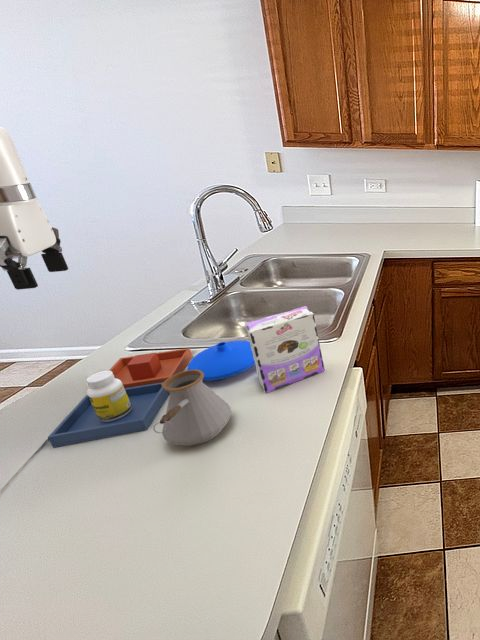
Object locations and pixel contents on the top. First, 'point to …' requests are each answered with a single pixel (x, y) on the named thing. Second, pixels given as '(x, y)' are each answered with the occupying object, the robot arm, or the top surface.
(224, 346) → the blue pot lid
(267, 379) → the candy box
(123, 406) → the supplement bottle
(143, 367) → the rust block
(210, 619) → the top surface
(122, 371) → the rust tray
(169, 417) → the coffee pot
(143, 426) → the blue tray
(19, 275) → the robot arm
